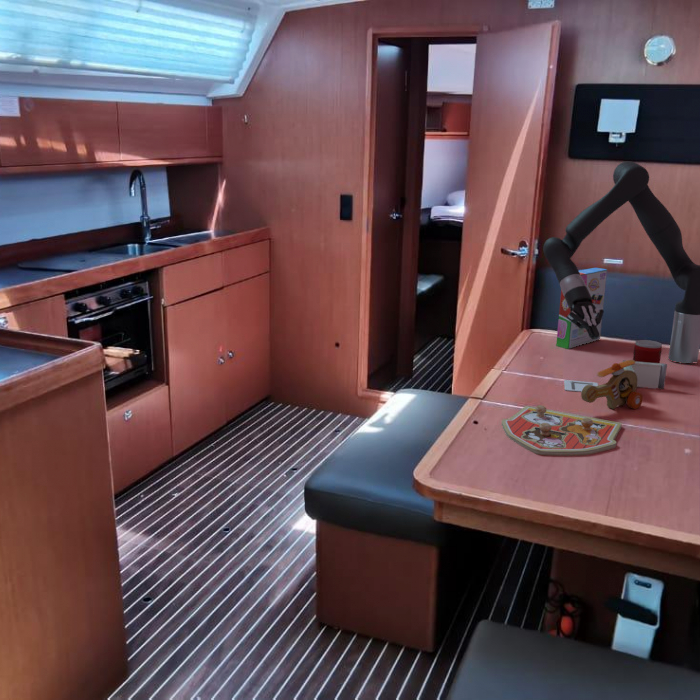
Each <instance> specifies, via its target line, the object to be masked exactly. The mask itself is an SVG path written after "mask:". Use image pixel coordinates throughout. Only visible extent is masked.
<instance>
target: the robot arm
mask: <svg viewBox="0 0 700 700" xmlns="http://www.w3.org/2000/svg"><path fill="white" fill-rule="evenodd" d="M612 175H613V176H612V177H613V178H612V179H613V183H614V185H613V187H612V188H611V189H610V190H609V191H608V192H607V193H606V194H604V196H601V198H600V199H598V200H597V201H595V202H593V203H592V204H590V205H589V206H588V207H586V208H585V209H583V210H582V211H581V212H580V213H579V214H578V215H576V216H575V217H574V218H573V219H572V221H570V222H569V224H568V225H567V226H566V227H565V235H564V237H563V238H562V239H561V238H560V237H555V236H553V237H549V238H547V240H545V242H544V244H543V247H542V249H543V254H544V257H545V258H546V260H547V262H548V264H549V265H550V266H551V268H552V270H553V272H554V274H555V277H556V279H557V282H558V283H559V286H560V289H561V290H562V293H563V295H564V297H565V300H566V302H567V304H568V307H569V308H570V311H571V312H570V313H569V315H568V316H567V319H569V320H570V321H571V322H573V323H574V324H575V325H577V326H578V327H579V328H581V329H582V328H585V329H586V330H587V332H588V334H589V337H590V338H591V339H597V338H598V337H599V332H598V329H597V326H598V325H599V324H600V322H601V319H602V320H603V316H604V309H603V310H602V309H601V310H598V309H596V307H595V305H593V303H592V298H591V295H590V293H589V291H588V289H587V286H586V284H585V282H584V280H583V279H582V277H581V275H580V273H579V269H578V266H577V265H576V263H575V262H574V261H573V260H572V257H573V256H574V254H575V253H576V252H577V250H578V248H579V247H580V246H581V244H582V242H584V240H586V238H587V237H588V236H590V234H591V233H593V231H595V230H596V229H597V227H598V226H600V225H601V224H602V223H603V222H604V221H605V220H606V219H607V218H608V217H610V215H612V214H613V213H615V212H616V211H617V210H618V209H619V208H621V207H622V206H623V205H625V204H626V203H627V202H628V203H629V204H630V205H631V207H632V208H633V211H634V213H635V214H636V217H637V219H638V221H639V223H640V225H641V226H642V227H643V229H644V231H645V234H646V235H647V236H648V238H649V239H650V241H651V243H652V245H654V247H655V248H656V250H657V251H658V253H659V255H660V256H661V257H662V259H663V260H664V263H665V264H666V266H667V268H668V271H669V272H670V274H671V277H672V279H673V281H674V282H675V284H676V286H677V287H678V288H680V289H681V290H683V291H684V294H683V295H684V296H683V299H682V300H680V301H677V302H676V303H675V305H674V306H675V307H674V313H673V314H674V315H673V321H672V330H671V337H670V344H669V350H668V351H669V352H668V358H669V359H670V360H672V361H676V362H681V363H693V362H697V363H698V361H699V360H698V359H699V352H700V264H697V263H695V262H693V260H692V259H691V258H690V257H689V255H688V254H687V252H686V250H685V248H684V245H683V244H684V243H683V237H682V230H681V229H680V226H679V225H678V224H677V221H676V220H675V218H674V216H673V215H672V214H671V212H670V211H669V210H668V209H667V208H666V206H665V205H664V204H663V203H662V202H661V201H660V200H659V198H657V197H656V195H655V194H654V193H653V192H652V190H651V188H650V186H649V181H650V174H649V172H648V170H647V169H646V168H645V167H644V166H642V165H640V164H639V163H636V162H633V161H623V162H621V163H619V164H618V165H616V167H615V168H614V171H613V174H612ZM561 290H560V291H561ZM594 313H595V316H594ZM578 321H579V322H580V323H581V324H580V323H579V322H578ZM668 358H667V359H668ZM669 359H668V360H669ZM670 360H669V361H670ZM672 361H671V362H672ZM681 363H680V364H681Z"/></svg>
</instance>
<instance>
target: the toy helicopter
mask: <svg viewBox="0 0 700 700" xmlns="http://www.w3.org/2000/svg"><path fill="white" fill-rule="evenodd" d="M633 364H635V361H634V360H633V359H628V360H626V361H624V362H623V361H622V362H620V363H618V362H617V363H616V362H615V363H613V364H612V365H611V367H608V368H605V369H603V370H600V371H598V372H597V374H596V376H597V377H599V378H604V377H606V376H608V375H612V376H611V377H610V378H609V379H608V381H607V382H606V383H603V384H598V386H593V385H586V386H585V387H584V388H583V390H582V392H580V397H581V399H582V400H583V401H584V402H585V403H589V404H591V403H593V402H595V401H596V400H597V399H600V398H606V401H607V402H606V405H607V408H609V409H612V410H615V409H616V408H617V407H618V406H624V405H627V406H628V407H629V408H630V409H633V410H637V409H639V408H640V407H641V406H642V403H643V401H644V396H643V394H642V393H641V392H638V391H637V375H636V373H635V372H633V371H631V370H624V367H627V366H630V365H633Z"/></svg>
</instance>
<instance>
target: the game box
mask: <svg viewBox="0 0 700 700" xmlns="http://www.w3.org/2000/svg"><path fill="white" fill-rule="evenodd" d="M578 271H579V273H580V275H581V277H582V279H583V280H584V282H585V284H586V286H587V289H588V291H589V293H590V295H591V298H592V303H593V305H595V307H596V309H598V310H601V309H602V310H603V311H604V302H605V291H606V283H607V274H608V269H606V268H600V267H592V268H587V269H586V268H585V269H578ZM559 300H560V302H559V310H558V311H559V312H558V321H557V333H556V334H557V335H556V342H555V343H556V344H555V346H556V347H558V348H563V349H566V350H569V349H572V348H577V347H580V346H583V345H582V344H584V345H586V343H587V344H590V342H591V343H594V342H597V341H600V340H601V333H602V323H603V318H602V319H601V322H600V324H599V325H598V326H597V329H598V332H599V337H598V338H597V339H591V338H590V337H589V334H588V332H587V330H586V329H585V328H582V329H581V328H579V327H578V326H577V325H575V324H574V323H573V322H571V321H570V320H569V319H567V316H568V315H569V313H570V312H571V311H570V308H569V307H568V304H567V302H566V300H565V297H564V295H563V293H562V290H560V299H559ZM594 316H595V313H594ZM578 322H579V321H578ZM579 323H580V322H579ZM580 324H581V323H580ZM599 339H600V340H599ZM596 340H597V341H596ZM593 341H594V342H593ZM579 345H580V346H579ZM576 346H577V347H576Z"/></svg>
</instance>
